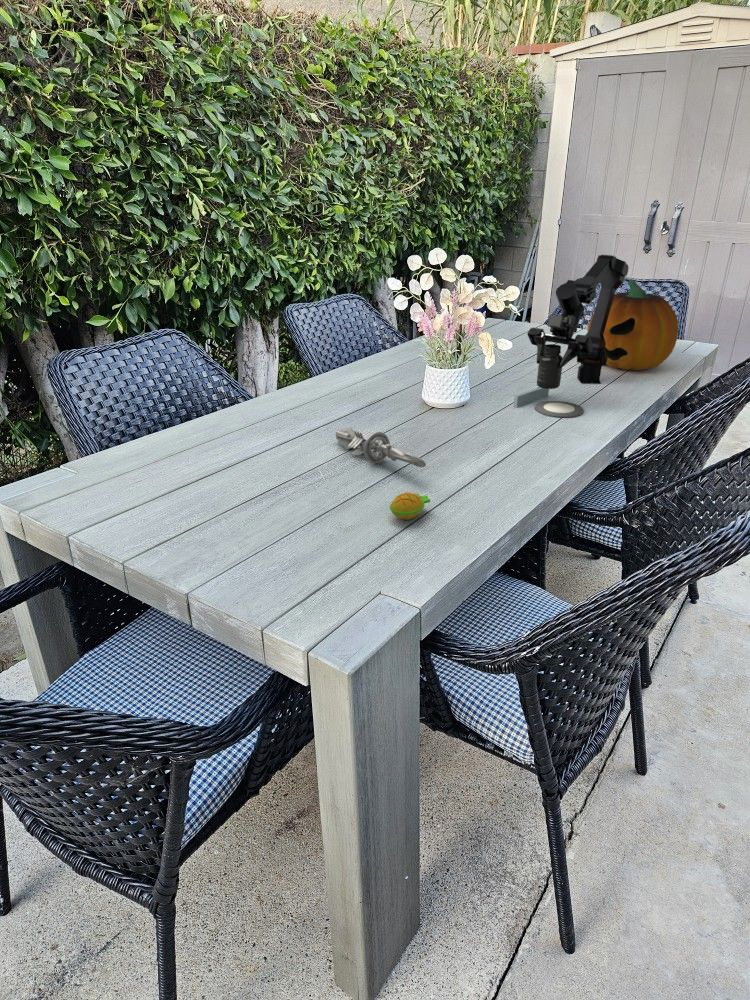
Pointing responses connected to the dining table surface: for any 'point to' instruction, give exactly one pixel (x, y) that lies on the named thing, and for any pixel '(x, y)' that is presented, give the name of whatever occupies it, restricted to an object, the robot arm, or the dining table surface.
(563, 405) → the mat
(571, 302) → the robot arm
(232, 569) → the dining table surface
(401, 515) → the orange green rounded piece
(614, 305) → the decorative pumpkin
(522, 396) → the acrylic wall
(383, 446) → the spaceship
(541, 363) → the supplement bottle
